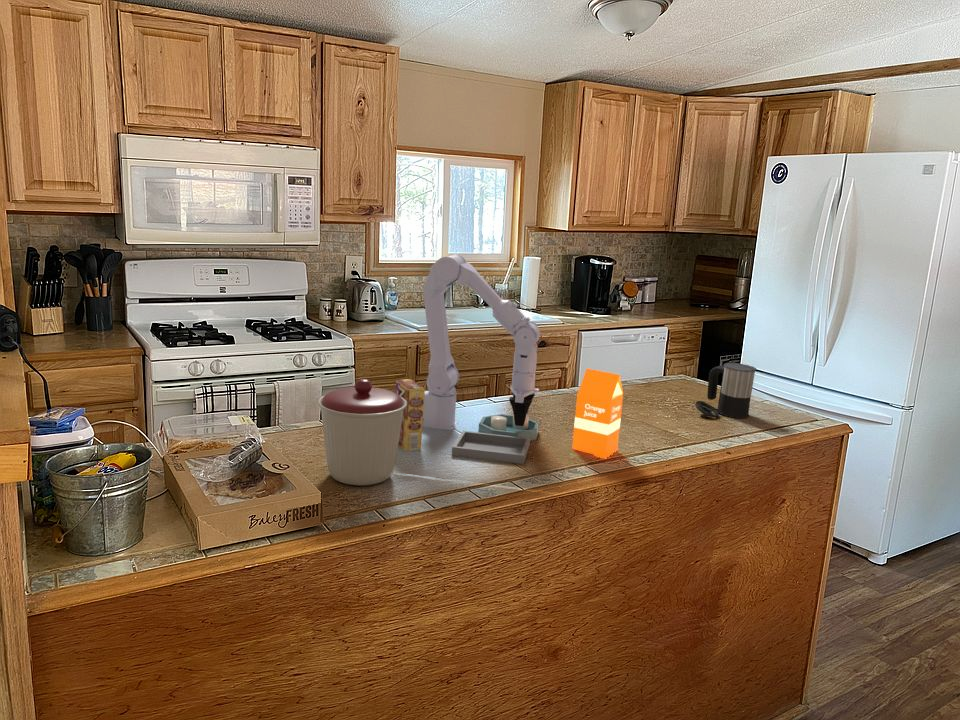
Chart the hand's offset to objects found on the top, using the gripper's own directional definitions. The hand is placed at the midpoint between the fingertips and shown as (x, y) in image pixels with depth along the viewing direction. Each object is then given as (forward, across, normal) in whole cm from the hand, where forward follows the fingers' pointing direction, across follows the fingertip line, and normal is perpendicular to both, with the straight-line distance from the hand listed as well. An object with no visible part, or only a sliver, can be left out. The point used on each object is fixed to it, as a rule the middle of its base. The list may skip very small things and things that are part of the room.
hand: (520, 422), depth 186 cm
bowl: (+3, 0, +3) cm, 4 cm away
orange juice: (+4, -5, -19) cm, 20 cm away
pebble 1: (+3, 0, +6) cm, 6 cm away
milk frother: (+4, +41, -56) cm, 69 cm away
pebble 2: (+1, 0, 0) cm, 1 cm away
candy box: (+4, -17, +25) cm, 30 cm away
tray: (+3, -15, +5) cm, 16 cm away
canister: (+4, -39, +29) cm, 49 cm away
